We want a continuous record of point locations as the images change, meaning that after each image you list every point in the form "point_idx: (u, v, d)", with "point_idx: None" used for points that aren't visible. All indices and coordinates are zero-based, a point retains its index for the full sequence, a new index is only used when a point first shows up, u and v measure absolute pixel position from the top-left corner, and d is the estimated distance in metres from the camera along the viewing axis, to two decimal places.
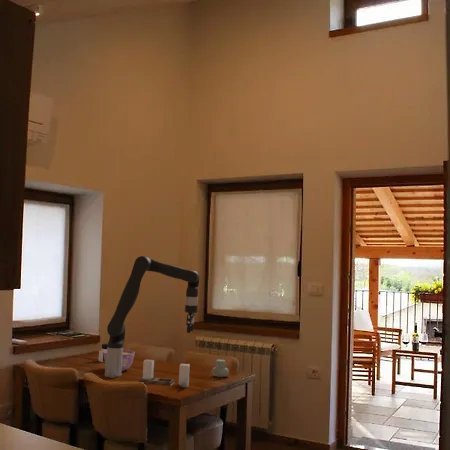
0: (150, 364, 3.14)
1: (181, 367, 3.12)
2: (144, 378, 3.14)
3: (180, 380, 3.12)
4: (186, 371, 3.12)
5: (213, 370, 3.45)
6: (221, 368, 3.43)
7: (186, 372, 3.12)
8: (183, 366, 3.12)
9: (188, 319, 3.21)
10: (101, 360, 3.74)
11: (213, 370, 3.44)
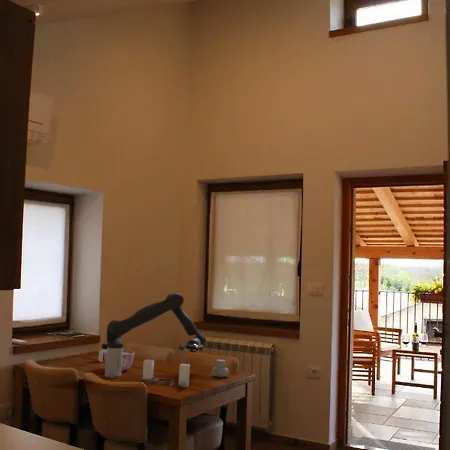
0: (150, 364, 3.14)
1: (181, 367, 3.12)
2: (144, 378, 3.14)
3: (180, 380, 3.12)
4: (186, 371, 3.12)
5: (213, 370, 3.45)
6: (221, 368, 3.43)
7: (186, 372, 3.12)
8: (183, 366, 3.12)
9: (202, 347, 3.34)
10: (101, 360, 3.74)
11: (213, 370, 3.45)
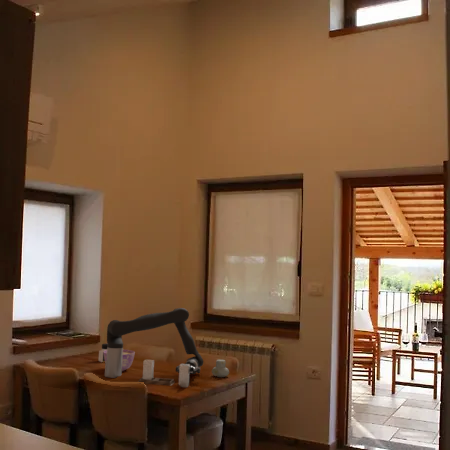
0: (150, 364, 3.14)
1: (181, 367, 3.12)
2: (144, 378, 3.14)
3: (180, 380, 3.12)
4: (186, 371, 3.12)
5: (213, 370, 3.45)
6: (221, 368, 3.43)
7: (186, 372, 3.12)
8: (183, 366, 3.12)
9: (199, 369, 3.27)
10: (101, 360, 3.74)
11: (213, 370, 3.44)
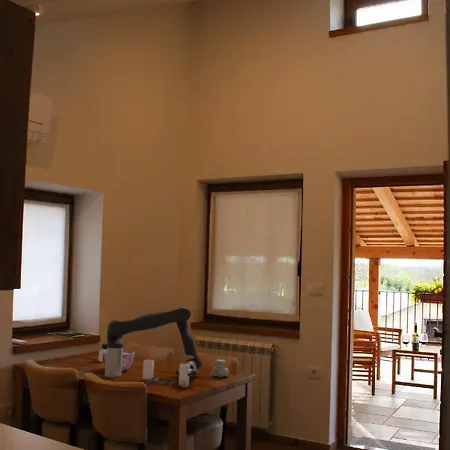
0: (150, 364, 3.14)
1: (181, 367, 3.12)
2: (144, 378, 3.14)
3: (180, 380, 3.12)
4: (186, 371, 3.12)
5: (213, 370, 3.45)
6: (221, 368, 3.43)
7: (186, 372, 3.12)
8: (183, 366, 3.12)
9: (196, 372, 3.18)
10: (101, 360, 3.74)
11: (213, 370, 3.45)
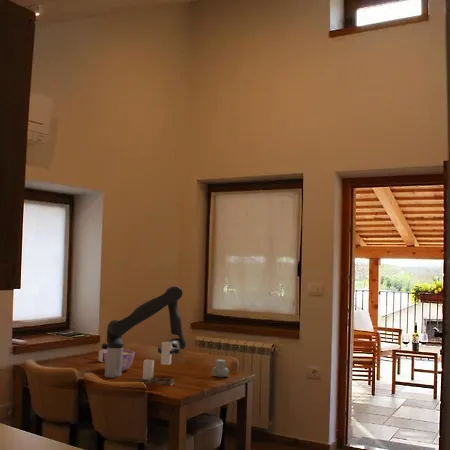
0: (150, 364, 3.14)
1: (163, 345, 3.14)
2: (144, 378, 3.14)
3: (162, 358, 3.13)
4: (168, 349, 3.13)
5: (213, 370, 3.45)
6: (221, 368, 3.43)
7: (168, 350, 3.13)
8: (165, 344, 3.14)
9: (179, 350, 3.20)
10: (101, 360, 3.74)
11: (213, 370, 3.45)
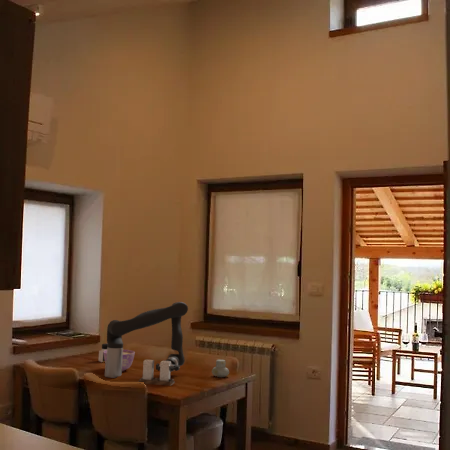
0: (150, 364, 3.14)
1: (162, 364, 3.13)
2: (144, 378, 3.14)
3: (161, 377, 3.13)
4: (167, 368, 3.13)
5: (213, 370, 3.45)
6: (221, 368, 3.43)
7: (167, 369, 3.13)
8: (164, 363, 3.13)
9: (178, 367, 3.20)
10: (101, 360, 3.74)
11: (213, 370, 3.45)
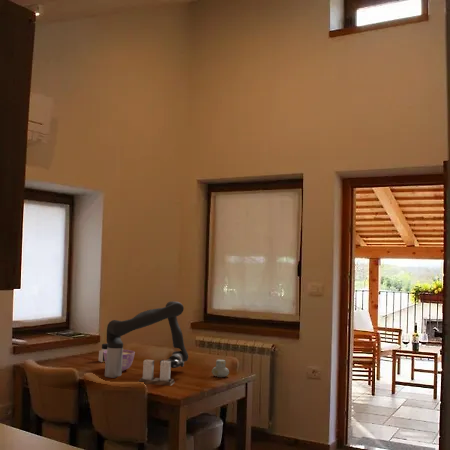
0: (150, 364, 3.14)
1: (162, 364, 3.13)
2: (144, 378, 3.14)
3: (161, 377, 3.13)
4: (167, 368, 3.13)
5: (213, 370, 3.45)
6: (221, 368, 3.43)
7: (167, 369, 3.13)
8: (164, 363, 3.13)
9: (183, 363, 3.33)
10: (101, 360, 3.74)
11: (213, 370, 3.45)
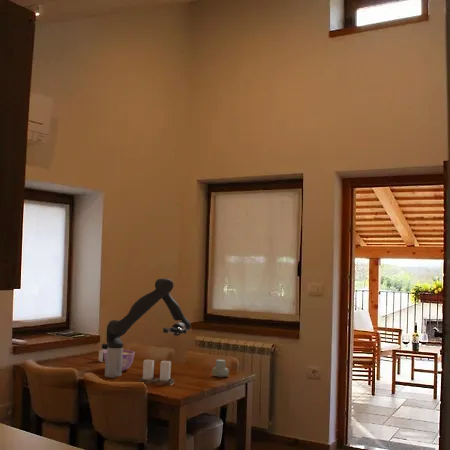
0: (150, 364, 3.14)
1: (162, 364, 3.13)
2: (144, 378, 3.14)
3: (161, 377, 3.13)
4: (167, 368, 3.13)
5: (213, 370, 3.45)
6: (221, 368, 3.43)
7: (167, 369, 3.13)
8: (164, 363, 3.13)
9: (186, 330, 3.40)
10: (101, 360, 3.74)
11: (213, 370, 3.45)
